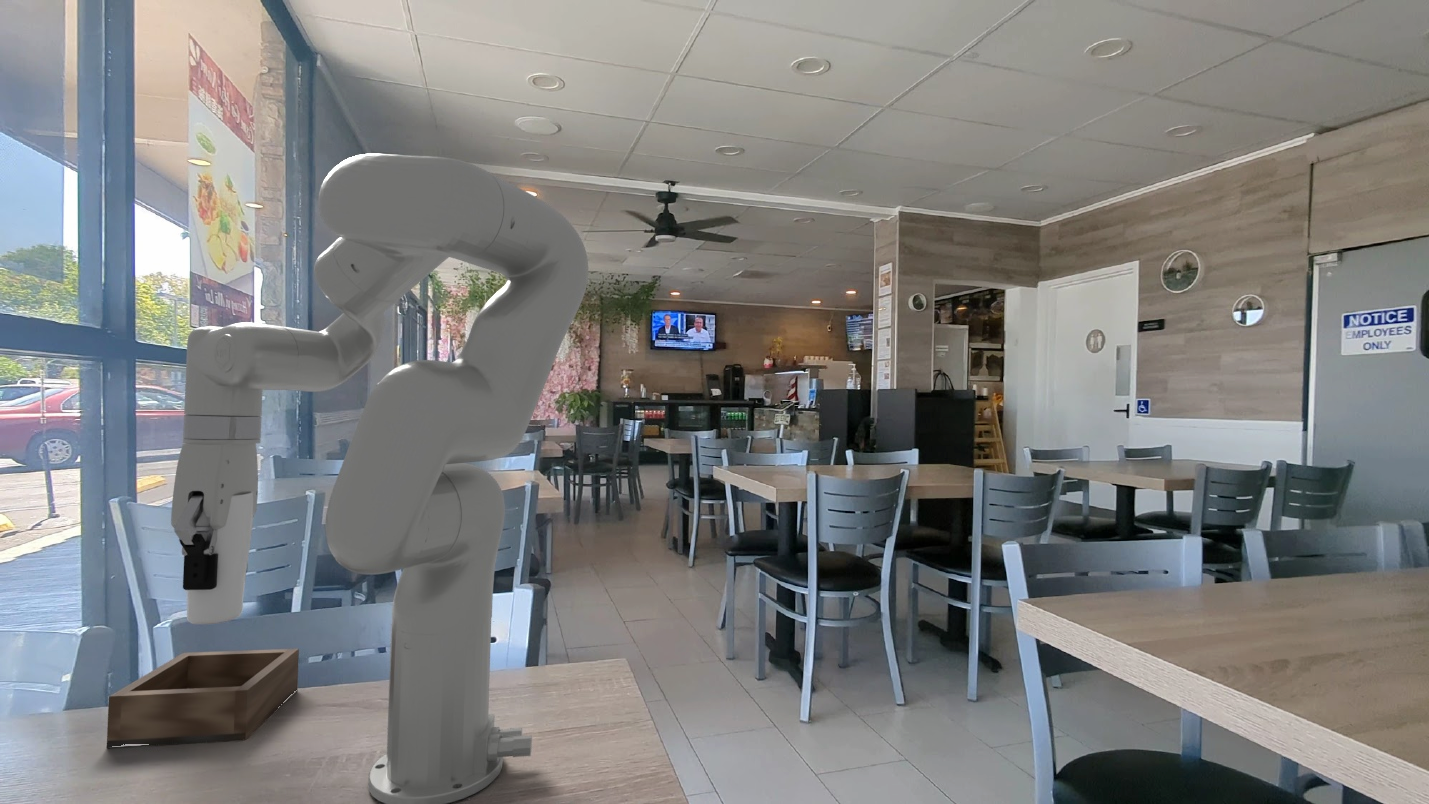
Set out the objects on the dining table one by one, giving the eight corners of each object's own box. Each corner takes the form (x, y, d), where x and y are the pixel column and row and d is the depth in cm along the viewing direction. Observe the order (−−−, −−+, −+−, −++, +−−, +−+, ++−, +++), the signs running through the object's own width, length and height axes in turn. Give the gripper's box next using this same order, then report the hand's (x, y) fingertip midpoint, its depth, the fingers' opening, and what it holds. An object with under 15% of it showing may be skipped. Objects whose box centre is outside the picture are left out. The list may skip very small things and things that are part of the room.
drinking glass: (263, 612, 83) (267, 491, 83) (217, 630, 76) (222, 498, 76) (212, 609, 84) (217, 489, 84) (163, 626, 77) (168, 495, 77)
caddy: (297, 691, 87) (298, 648, 87) (245, 740, 74) (247, 690, 74) (181, 696, 85) (183, 652, 85) (106, 748, 72) (108, 696, 72)
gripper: (226, 428, 88) (220, 565, 88) (139, 432, 71) (132, 602, 71) (289, 430, 89) (283, 565, 89) (218, 434, 73) (211, 601, 72)
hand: (216, 580), depth 80 cm, fingers closed on drinking glass, 6 cm apart
